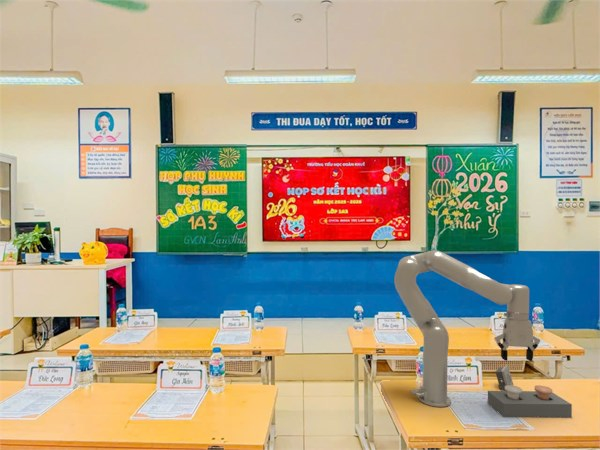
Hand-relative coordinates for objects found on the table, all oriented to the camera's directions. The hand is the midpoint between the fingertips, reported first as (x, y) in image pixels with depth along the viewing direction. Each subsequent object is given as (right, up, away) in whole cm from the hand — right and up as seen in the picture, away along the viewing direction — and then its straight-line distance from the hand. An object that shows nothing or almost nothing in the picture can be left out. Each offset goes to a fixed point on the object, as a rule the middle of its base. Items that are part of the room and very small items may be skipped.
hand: (516, 359), depth 156 cm
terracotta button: (+10, -16, -1) cm, 19 cm away
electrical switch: (+6, -20, +21) cm, 30 cm away
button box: (+4, -19, -1) cm, 20 cm away
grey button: (-2, -16, -1) cm, 16 cm away
